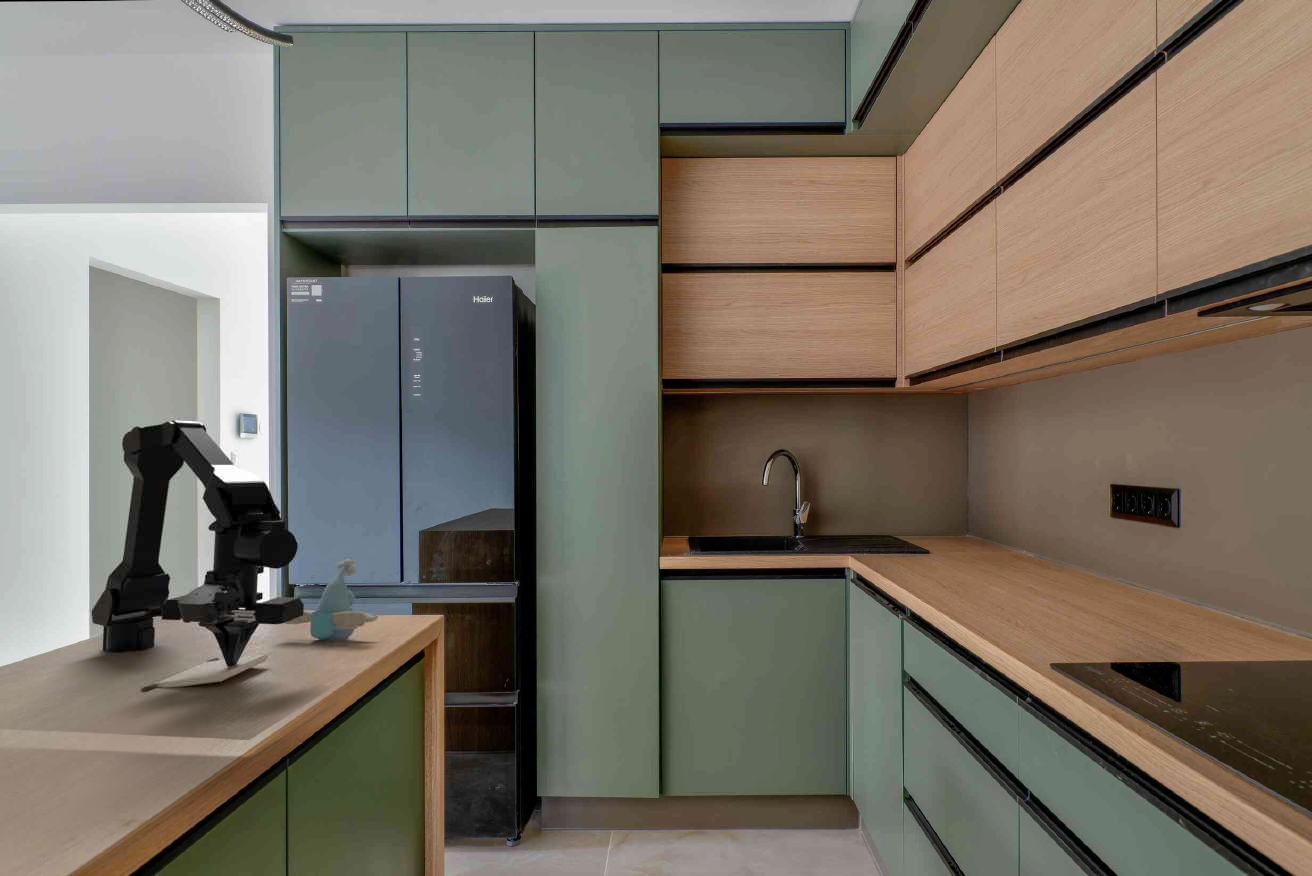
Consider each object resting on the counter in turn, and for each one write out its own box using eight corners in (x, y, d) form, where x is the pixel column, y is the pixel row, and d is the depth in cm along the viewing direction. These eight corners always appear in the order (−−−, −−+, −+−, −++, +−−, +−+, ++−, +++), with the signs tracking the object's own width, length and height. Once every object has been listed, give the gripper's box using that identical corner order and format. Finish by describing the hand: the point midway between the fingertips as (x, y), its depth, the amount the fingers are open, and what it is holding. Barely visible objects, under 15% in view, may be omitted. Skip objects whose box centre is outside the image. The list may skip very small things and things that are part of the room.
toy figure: (391, 636, 125) (393, 559, 126) (361, 652, 115) (364, 568, 115) (310, 632, 127) (313, 556, 127) (274, 648, 116) (276, 565, 117)
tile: (220, 674, 92) (221, 681, 92) (267, 653, 102) (268, 660, 102) (154, 683, 92) (155, 690, 92) (207, 661, 102) (208, 668, 102)
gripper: (131, 568, 90) (126, 681, 90) (258, 573, 89) (254, 687, 88) (193, 556, 101) (189, 656, 101) (307, 560, 100) (303, 662, 99)
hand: (231, 665), depth 97 cm, fingers closed, pressing on tile
